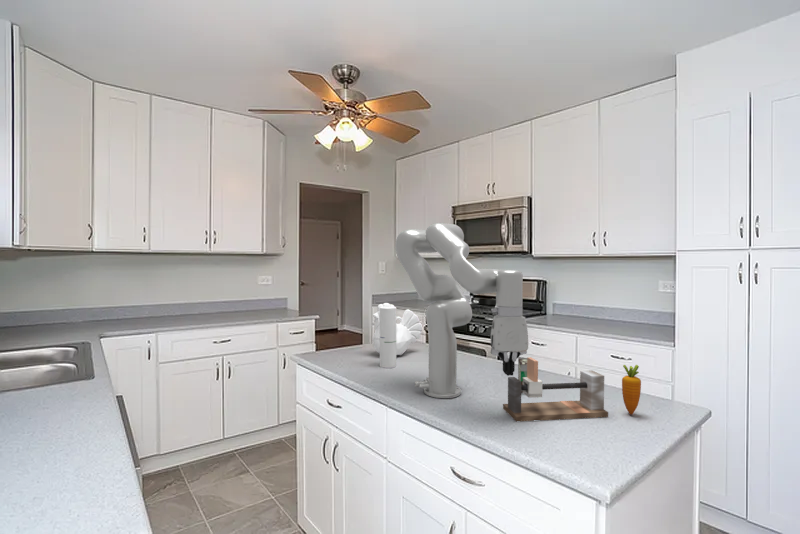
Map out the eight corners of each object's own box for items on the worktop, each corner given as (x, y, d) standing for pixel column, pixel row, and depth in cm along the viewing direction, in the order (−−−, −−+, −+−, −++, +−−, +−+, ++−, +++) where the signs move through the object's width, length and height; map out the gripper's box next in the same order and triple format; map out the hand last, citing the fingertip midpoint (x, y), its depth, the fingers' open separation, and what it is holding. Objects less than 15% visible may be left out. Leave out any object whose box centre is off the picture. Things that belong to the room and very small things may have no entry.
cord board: (516, 421, 117) (516, 381, 116) (503, 408, 126) (503, 371, 126) (608, 417, 120) (608, 377, 120) (588, 404, 130) (588, 368, 130)
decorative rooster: (374, 359, 187) (375, 305, 186) (370, 352, 202) (370, 301, 201) (428, 357, 192) (428, 304, 191) (419, 349, 207) (419, 300, 207)
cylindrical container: (386, 362, 181) (386, 306, 181) (399, 365, 177) (399, 307, 176) (376, 366, 175) (376, 307, 175) (389, 369, 171) (389, 309, 171)
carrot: (617, 412, 124) (618, 363, 123) (629, 410, 125) (629, 361, 125) (632, 418, 119) (633, 367, 119) (644, 416, 121) (645, 365, 121)
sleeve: (529, 397, 120) (529, 361, 120) (522, 392, 124) (522, 357, 124) (542, 397, 120) (542, 361, 120) (535, 392, 125) (535, 357, 125)
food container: (539, 395, 139) (540, 366, 138) (520, 394, 140) (521, 365, 140) (535, 384, 151) (535, 357, 151) (517, 383, 152) (518, 356, 152)
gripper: (488, 314, 116) (488, 378, 116) (539, 313, 118) (538, 377, 118) (480, 310, 124) (479, 371, 124) (527, 310, 125) (527, 370, 126)
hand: (508, 374), depth 121 cm, fingers closed
